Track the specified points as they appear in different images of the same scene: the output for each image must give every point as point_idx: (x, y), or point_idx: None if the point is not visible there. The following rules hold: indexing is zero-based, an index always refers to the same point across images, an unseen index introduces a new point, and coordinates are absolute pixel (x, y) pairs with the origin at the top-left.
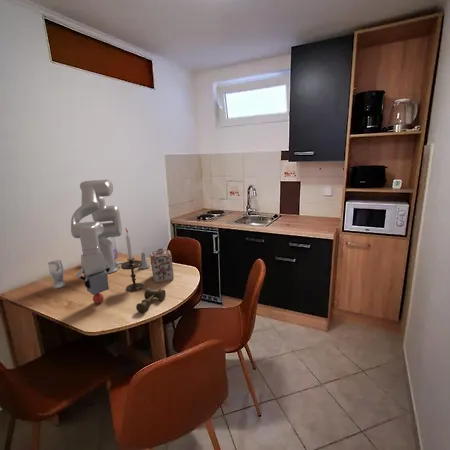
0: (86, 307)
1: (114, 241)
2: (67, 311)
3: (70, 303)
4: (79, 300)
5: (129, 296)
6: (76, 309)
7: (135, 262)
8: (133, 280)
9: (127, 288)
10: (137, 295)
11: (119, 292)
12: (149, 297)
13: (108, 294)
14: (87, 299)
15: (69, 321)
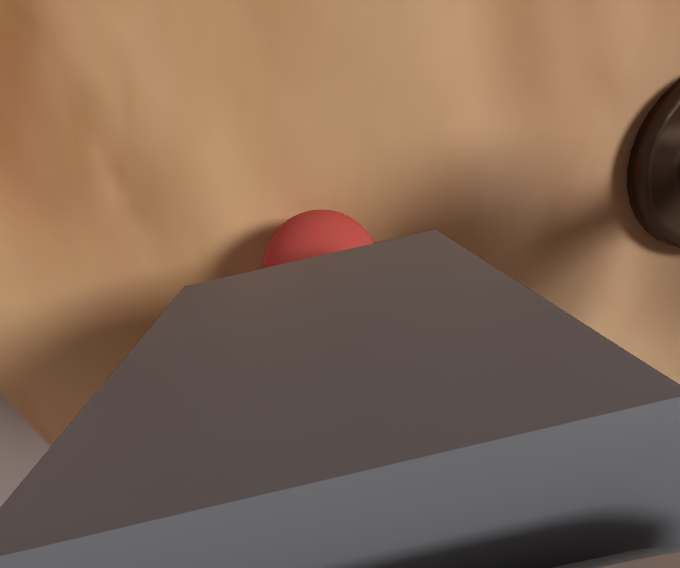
0: (197, 277)
1: None
2: (11, 241)
3: (17, 46)
4: (124, 35)
5: (583, 312)
6: (101, 256)
7: None
8: None
9: (658, 145)
10: (640, 338)
11: (554, 153)
12: None
13: (447, 118)
14: (217, 80)
15: (56, 432)
